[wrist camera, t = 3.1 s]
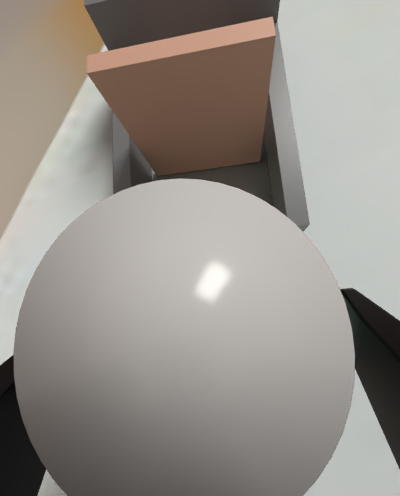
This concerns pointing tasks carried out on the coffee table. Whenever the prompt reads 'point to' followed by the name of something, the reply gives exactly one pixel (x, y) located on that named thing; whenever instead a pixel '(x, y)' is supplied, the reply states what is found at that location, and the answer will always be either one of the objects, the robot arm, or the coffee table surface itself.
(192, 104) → the pusher plate
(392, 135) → the coffee table surface
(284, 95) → the pusher lane
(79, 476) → the jar
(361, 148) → the coffee table surface
